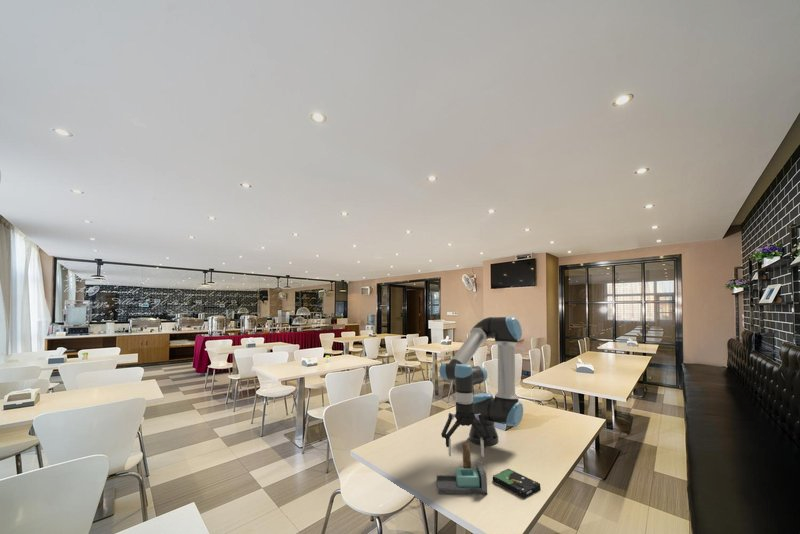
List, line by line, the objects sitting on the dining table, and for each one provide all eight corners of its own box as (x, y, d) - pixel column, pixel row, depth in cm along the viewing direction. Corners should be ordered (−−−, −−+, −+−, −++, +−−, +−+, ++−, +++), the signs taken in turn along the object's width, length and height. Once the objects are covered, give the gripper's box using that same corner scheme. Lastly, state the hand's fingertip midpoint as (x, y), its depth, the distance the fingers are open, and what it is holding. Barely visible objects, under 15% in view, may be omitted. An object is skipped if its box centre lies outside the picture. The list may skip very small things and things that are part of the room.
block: (476, 479, 126) (475, 468, 127) (479, 488, 119) (479, 477, 120) (455, 479, 126) (455, 468, 127) (458, 488, 120) (457, 477, 120)
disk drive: (541, 491, 120) (508, 474, 132) (540, 483, 121) (508, 467, 133) (524, 500, 115) (492, 482, 127) (524, 492, 115) (491, 474, 127)
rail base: (481, 480, 127) (480, 461, 128) (487, 494, 117) (486, 474, 119) (436, 480, 128) (436, 461, 129) (438, 493, 118) (438, 473, 119)
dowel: (470, 473, 133) (469, 443, 135) (472, 477, 130) (470, 446, 132) (462, 473, 133) (461, 442, 135) (464, 477, 130) (463, 446, 132)
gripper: (491, 400, 139) (494, 452, 136) (434, 399, 140) (435, 451, 137) (496, 404, 132) (498, 459, 128) (436, 403, 133) (436, 458, 129)
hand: (466, 455), depth 132 cm, fingers open, 13 cm apart
